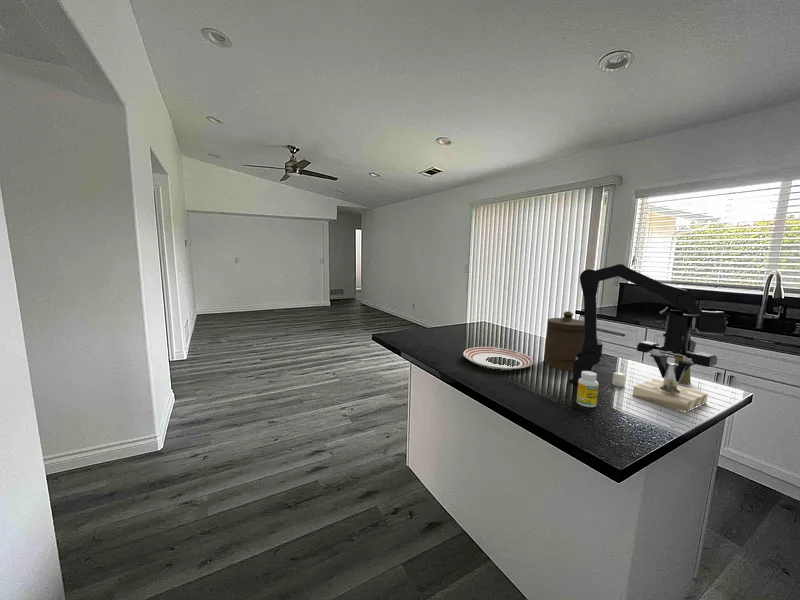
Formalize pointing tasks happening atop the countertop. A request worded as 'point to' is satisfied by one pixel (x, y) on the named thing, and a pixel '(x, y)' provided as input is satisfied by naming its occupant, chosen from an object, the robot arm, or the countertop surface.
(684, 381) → the cork
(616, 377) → the short cream pin
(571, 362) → the wooden container
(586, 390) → the supplement bottle
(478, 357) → the dinner plate
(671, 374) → the tall steel pin
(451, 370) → the countertop surface
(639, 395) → the hole board
